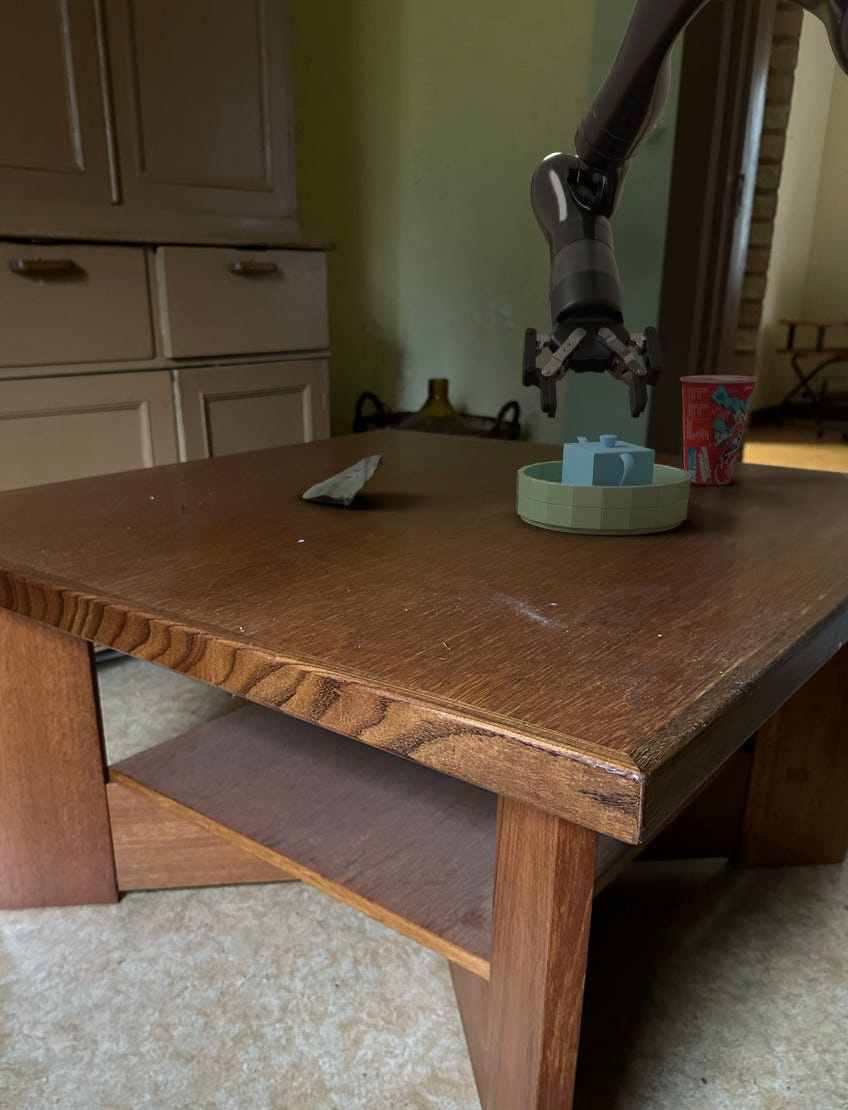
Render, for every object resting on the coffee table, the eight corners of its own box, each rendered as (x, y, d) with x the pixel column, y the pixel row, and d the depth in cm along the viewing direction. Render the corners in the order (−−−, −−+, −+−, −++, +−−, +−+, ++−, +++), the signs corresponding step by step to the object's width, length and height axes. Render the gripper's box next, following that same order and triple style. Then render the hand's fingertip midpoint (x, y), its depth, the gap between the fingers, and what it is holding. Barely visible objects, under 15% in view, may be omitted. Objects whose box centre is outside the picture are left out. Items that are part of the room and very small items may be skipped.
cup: (757, 487, 105) (770, 378, 101) (683, 488, 105) (694, 380, 101) (727, 473, 113) (738, 373, 109) (658, 474, 114) (668, 374, 110)
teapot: (547, 501, 96) (551, 428, 93) (602, 498, 97) (607, 426, 94) (596, 525, 84) (602, 443, 82) (657, 521, 85) (664, 440, 83)
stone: (304, 523, 95) (395, 493, 94) (291, 487, 94) (383, 456, 94) (309, 512, 105) (391, 484, 105) (297, 479, 105) (380, 451, 104)
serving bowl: (664, 501, 98) (668, 459, 96) (706, 536, 82) (712, 486, 81) (510, 501, 99) (511, 460, 97) (523, 536, 83) (525, 487, 82)
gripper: (522, 268, 97) (528, 388, 90) (659, 266, 96) (674, 387, 89) (516, 321, 104) (521, 436, 97) (643, 319, 103) (657, 435, 96)
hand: (594, 412), depth 93 cm, fingers open, 8 cm apart
